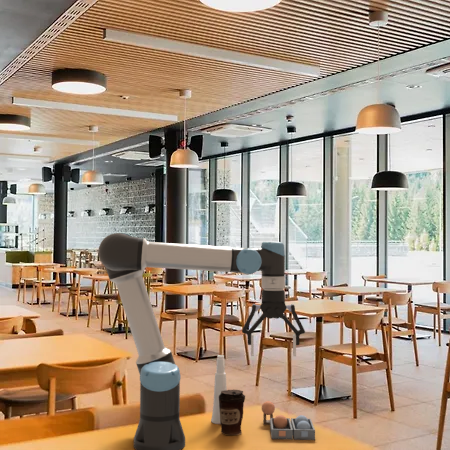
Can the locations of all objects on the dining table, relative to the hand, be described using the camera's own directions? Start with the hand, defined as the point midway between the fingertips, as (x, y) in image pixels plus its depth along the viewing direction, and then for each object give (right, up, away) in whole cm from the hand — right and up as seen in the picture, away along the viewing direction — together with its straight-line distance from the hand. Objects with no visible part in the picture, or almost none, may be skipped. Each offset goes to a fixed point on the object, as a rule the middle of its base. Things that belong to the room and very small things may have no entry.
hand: (273, 355), depth 198 cm
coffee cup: (-14, -24, -5) cm, 28 cm away
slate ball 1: (+9, -21, -2) cm, 23 cm away
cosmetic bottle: (-17, -24, +7) cm, 30 cm away
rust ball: (+2, -21, -2) cm, 21 cm away
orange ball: (-1, -19, +6) cm, 20 cm away
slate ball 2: (+9, -21, -8) cm, 24 cm away
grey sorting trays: (+5, -24, -5) cm, 25 cm away
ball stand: (-1, -24, +6) cm, 24 cm away
